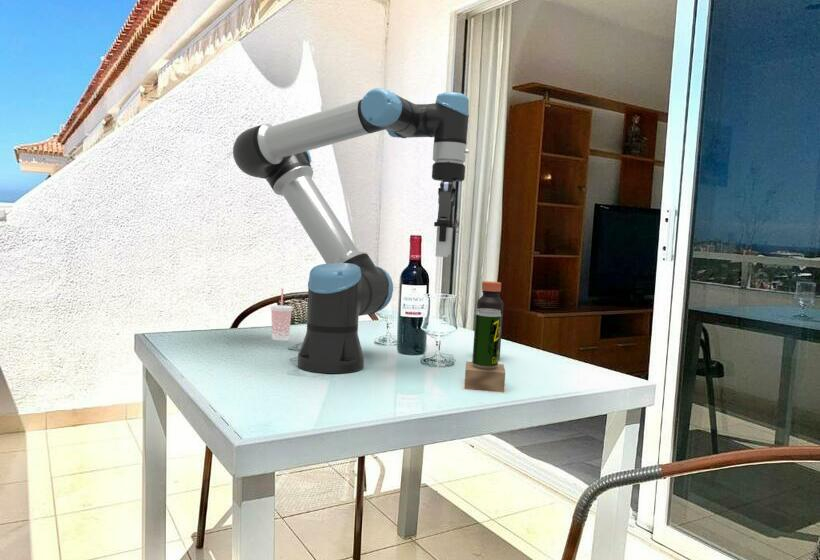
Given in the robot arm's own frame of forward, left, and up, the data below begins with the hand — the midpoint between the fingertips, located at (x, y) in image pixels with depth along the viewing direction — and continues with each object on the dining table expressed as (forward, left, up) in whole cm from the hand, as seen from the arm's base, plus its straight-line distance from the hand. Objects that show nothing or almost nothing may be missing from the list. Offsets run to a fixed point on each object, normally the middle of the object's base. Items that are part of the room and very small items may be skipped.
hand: (443, 255), depth 140 cm
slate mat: (+8, -15, -27) cm, 32 cm away
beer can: (+11, -15, -22) cm, 29 cm away
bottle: (+12, +16, -27) cm, 34 cm away
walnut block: (+11, -15, -26) cm, 32 cm away
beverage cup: (-45, +21, -27) cm, 56 cm away
